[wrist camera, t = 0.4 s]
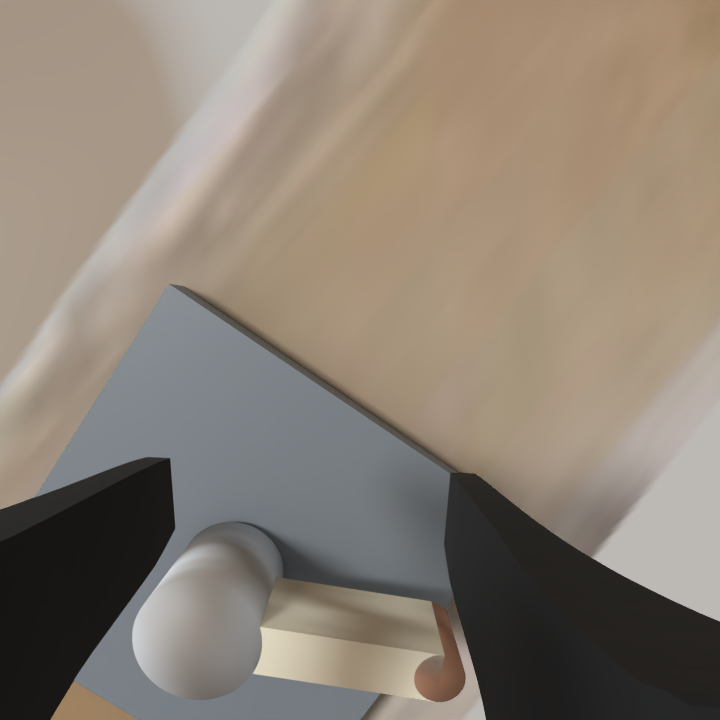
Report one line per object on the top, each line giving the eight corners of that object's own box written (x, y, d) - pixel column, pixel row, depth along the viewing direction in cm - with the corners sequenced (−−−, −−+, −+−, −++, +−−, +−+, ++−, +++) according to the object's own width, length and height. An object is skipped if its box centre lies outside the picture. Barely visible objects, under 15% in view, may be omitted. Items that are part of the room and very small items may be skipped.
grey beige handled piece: (176, 609, 20) (125, 689, 16) (188, 514, 20) (139, 571, 15) (433, 648, 21) (452, 739, 16) (451, 556, 20) (477, 624, 16)
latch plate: (295, 778, 23) (290, 810, 22) (-12, 594, 22) (-39, 614, 21) (504, 503, 22) (515, 517, 20) (183, 286, 20) (169, 284, 19)
